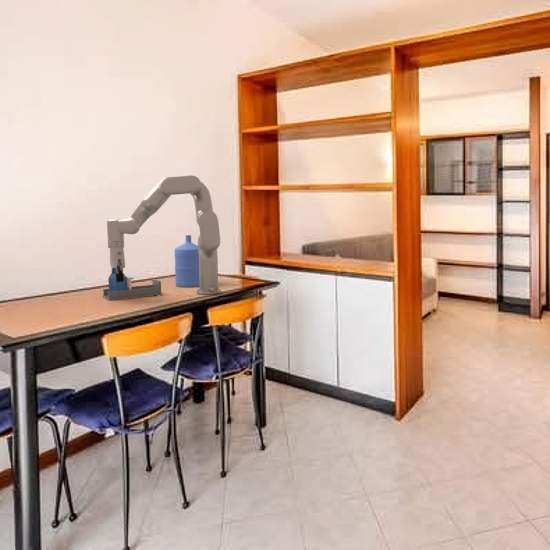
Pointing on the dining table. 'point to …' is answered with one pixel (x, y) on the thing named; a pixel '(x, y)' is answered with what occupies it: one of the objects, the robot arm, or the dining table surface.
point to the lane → (135, 291)
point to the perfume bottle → (117, 285)
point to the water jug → (187, 264)
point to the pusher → (129, 282)
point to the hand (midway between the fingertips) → (117, 280)
